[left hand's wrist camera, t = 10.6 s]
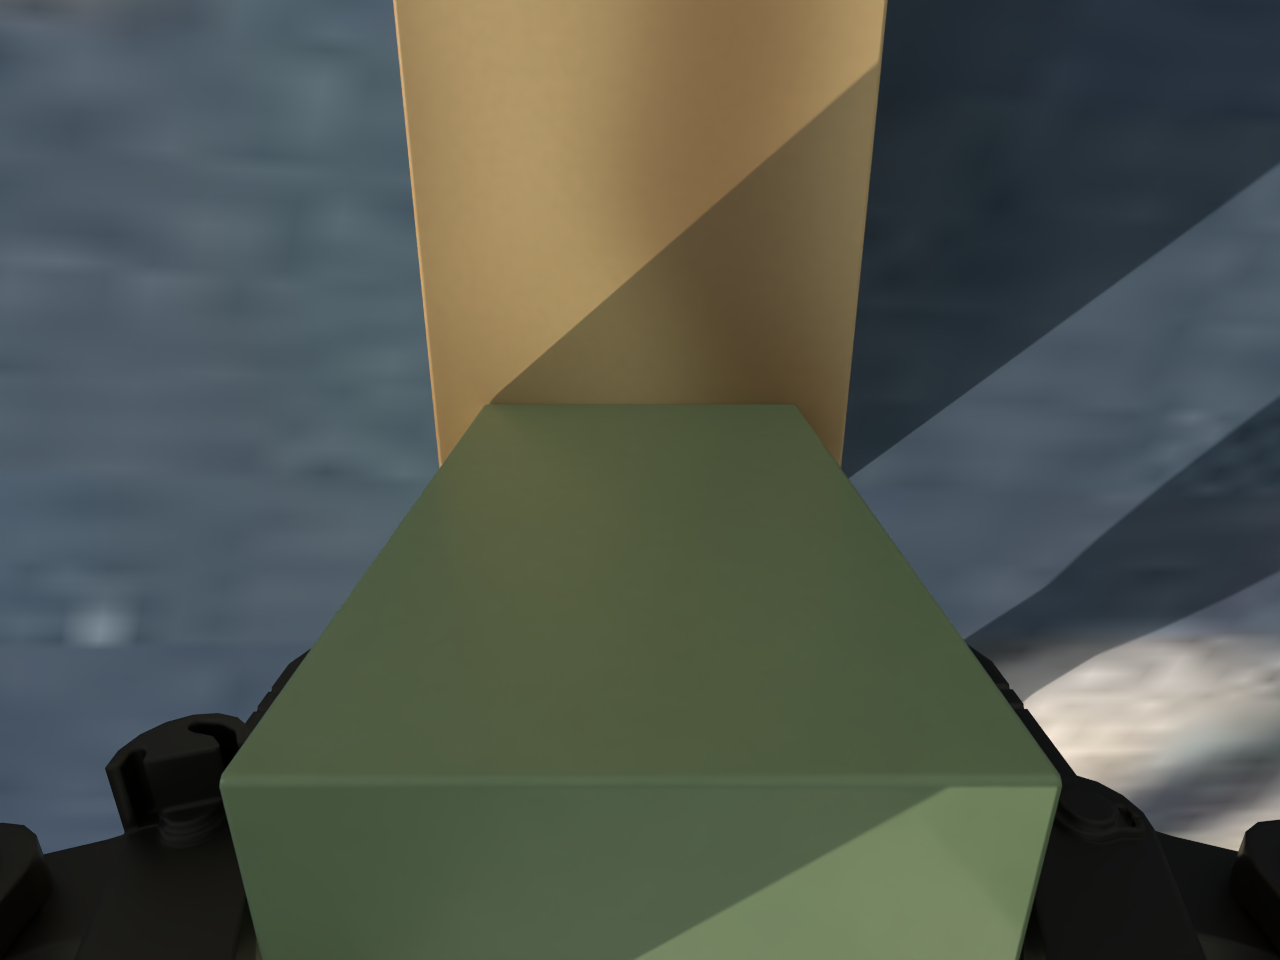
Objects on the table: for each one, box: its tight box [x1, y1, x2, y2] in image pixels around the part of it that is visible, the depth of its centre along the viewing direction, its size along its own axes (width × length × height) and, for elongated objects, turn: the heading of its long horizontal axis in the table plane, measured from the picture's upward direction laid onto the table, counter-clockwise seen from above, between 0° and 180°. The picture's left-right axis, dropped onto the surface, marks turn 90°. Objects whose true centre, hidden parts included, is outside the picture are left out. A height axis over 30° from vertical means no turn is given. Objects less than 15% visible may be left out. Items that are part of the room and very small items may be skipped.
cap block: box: [219, 404, 1062, 960], centre depth 11 cm, size 6×6×10 cm
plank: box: [393, 0, 888, 468], centre depth 17 cm, size 8×30×10 cm, turn 0°
